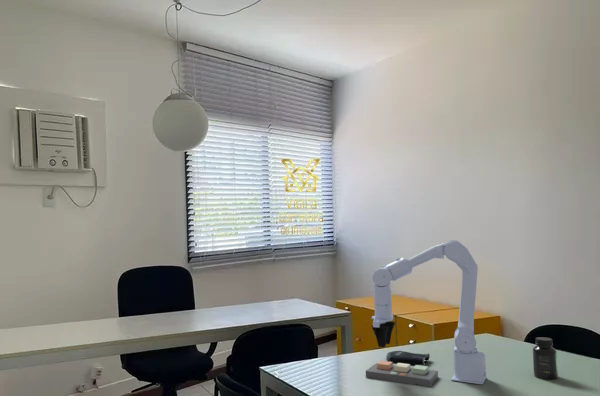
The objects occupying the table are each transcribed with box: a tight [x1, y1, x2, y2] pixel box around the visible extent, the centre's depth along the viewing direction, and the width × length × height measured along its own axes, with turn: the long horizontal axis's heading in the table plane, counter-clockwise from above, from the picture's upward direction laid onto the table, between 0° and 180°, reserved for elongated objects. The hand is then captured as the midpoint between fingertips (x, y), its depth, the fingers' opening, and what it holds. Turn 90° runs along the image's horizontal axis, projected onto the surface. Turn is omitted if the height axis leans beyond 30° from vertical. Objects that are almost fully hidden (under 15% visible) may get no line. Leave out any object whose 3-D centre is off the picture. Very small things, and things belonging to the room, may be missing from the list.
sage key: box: [412, 365, 429, 375], centre depth 153 cm, size 4×4×2 cm
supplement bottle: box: [532, 336, 559, 381], centre depth 153 cm, size 7×7×12 cm
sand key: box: [394, 363, 411, 373], centre depth 156 cm, size 4×4×2 cm
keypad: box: [365, 362, 439, 387], centre depth 155 cm, size 21×10×2 cm, turn 60°
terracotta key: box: [376, 360, 394, 370], centre depth 159 cm, size 4×4×2 cm
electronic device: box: [385, 350, 431, 366], centre depth 173 cm, size 9×6×15 cm
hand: (384, 345), depth 159 cm, fingers open, 4 cm apart
